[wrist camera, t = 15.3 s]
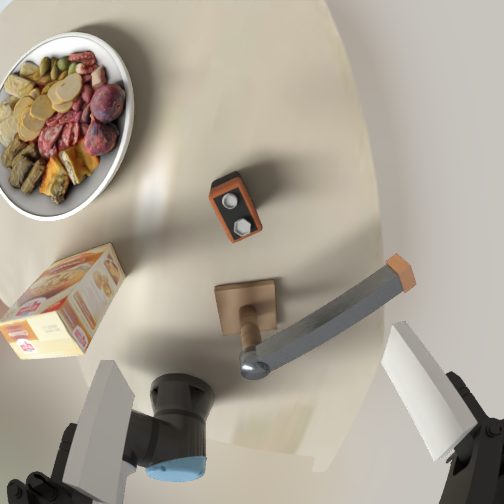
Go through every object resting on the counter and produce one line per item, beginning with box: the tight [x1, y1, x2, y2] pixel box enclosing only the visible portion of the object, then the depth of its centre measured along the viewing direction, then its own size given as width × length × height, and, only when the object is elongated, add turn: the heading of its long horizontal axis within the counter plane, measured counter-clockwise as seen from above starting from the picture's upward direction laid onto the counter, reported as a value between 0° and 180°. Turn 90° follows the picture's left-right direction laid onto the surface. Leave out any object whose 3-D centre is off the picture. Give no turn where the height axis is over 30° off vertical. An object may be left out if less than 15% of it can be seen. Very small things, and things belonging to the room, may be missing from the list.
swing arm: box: [240, 254, 416, 380], centre depth 35 cm, size 4×26×4 cm, turn 124°
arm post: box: [214, 280, 277, 350], centre depth 44 cm, size 10×10×12 cm
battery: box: [209, 172, 262, 243], centre depth 36 cm, size 4×7×10 cm, turn 23°
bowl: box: [0, 32, 134, 221], centre depth 29 cm, size 30×30×8 cm
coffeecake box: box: [0, 243, 126, 359], centre depth 35 cm, size 15×7×20 cm, turn 103°
